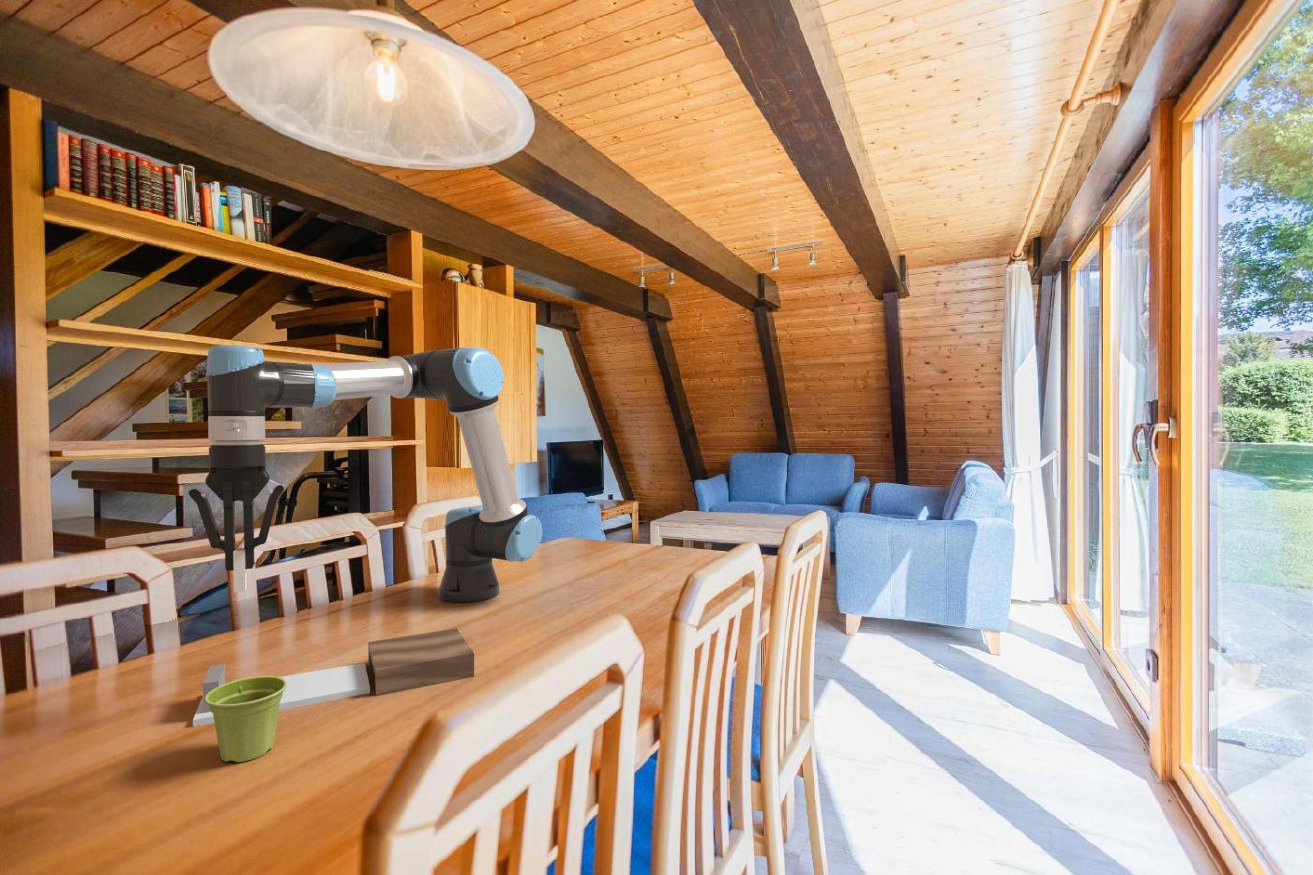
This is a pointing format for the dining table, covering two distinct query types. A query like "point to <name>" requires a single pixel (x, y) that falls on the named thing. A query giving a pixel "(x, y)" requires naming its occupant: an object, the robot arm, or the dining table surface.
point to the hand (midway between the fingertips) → (240, 589)
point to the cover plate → (297, 688)
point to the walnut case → (420, 660)
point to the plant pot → (246, 716)
